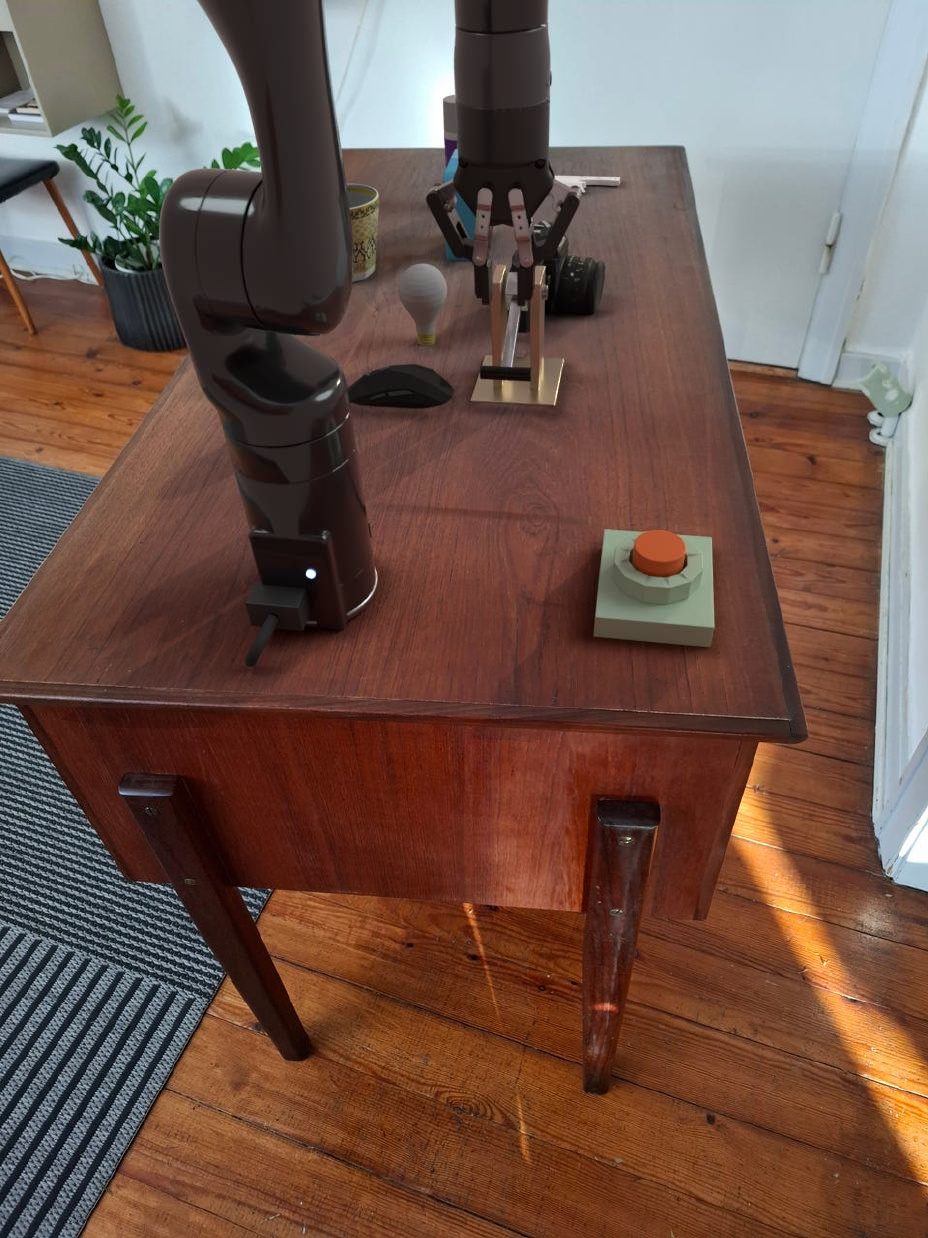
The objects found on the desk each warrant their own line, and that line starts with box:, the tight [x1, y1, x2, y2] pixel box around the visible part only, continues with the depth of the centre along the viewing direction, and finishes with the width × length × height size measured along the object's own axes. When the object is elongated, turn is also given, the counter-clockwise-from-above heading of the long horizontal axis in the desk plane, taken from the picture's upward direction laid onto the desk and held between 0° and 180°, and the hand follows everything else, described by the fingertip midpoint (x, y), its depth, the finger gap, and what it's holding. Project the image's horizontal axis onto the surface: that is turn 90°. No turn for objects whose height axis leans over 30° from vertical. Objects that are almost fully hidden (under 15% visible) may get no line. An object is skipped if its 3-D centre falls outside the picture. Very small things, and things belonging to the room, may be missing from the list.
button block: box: [593, 528, 715, 648], centre depth 72 cm, size 11×9×4 cm
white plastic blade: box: [555, 175, 621, 194], centre depth 142 cm, size 5×15×1 cm, turn 78°
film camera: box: [507, 220, 606, 334], centre depth 108 cm, size 18×12×10 cm
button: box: [632, 529, 686, 578], centre depth 71 cm, size 4×4×2 cm
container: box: [442, 94, 458, 168], centre depth 134 cm, size 5×5×15 cm
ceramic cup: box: [346, 183, 380, 283], centre depth 120 cm, size 13×10×10 cm
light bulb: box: [398, 263, 448, 346], centre depth 102 cm, size 6×6×10 cm
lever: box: [479, 271, 532, 382], centre depth 89 cm, size 12×5×2 cm, turn 170°
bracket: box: [470, 264, 565, 407], centre depth 94 cm, size 10×9×13 cm
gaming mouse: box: [347, 363, 455, 409], centre depth 97 cm, size 6×15×4 cm, turn 84°
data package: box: [442, 149, 476, 262], centre depth 122 cm, size 12×4×12 cm, turn 172°
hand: (505, 301), depth 82 cm, fingers closed
